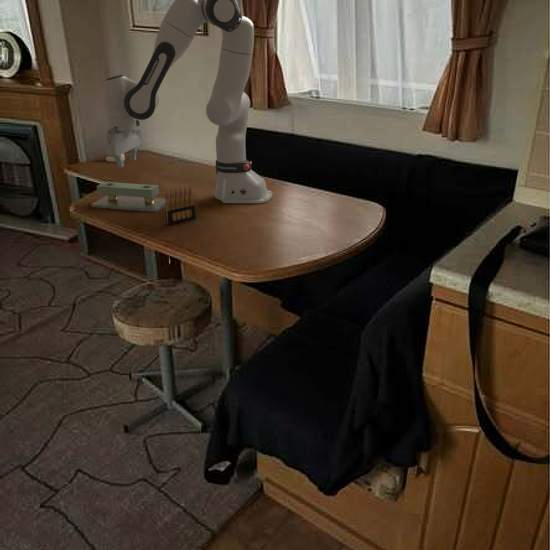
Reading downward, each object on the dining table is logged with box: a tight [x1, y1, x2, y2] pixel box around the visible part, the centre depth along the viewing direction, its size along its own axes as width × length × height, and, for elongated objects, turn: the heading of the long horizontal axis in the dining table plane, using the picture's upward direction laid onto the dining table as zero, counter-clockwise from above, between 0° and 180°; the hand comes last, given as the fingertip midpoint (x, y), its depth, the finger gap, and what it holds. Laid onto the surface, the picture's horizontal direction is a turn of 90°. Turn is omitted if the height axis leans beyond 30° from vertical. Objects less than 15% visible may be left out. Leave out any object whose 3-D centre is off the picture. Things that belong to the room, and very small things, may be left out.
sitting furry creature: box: [105, 153, 126, 163], centre depth 261 cm, size 10×9×12 cm
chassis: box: [91, 195, 170, 213], centre depth 201 cm, size 26×12×7 cm, turn 77°
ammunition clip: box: [164, 185, 197, 227], centre depth 183 cm, size 11×2×12 cm, turn 128°
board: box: [96, 181, 160, 198], centre depth 200 cm, size 22×6×3 cm, turn 76°
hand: (127, 163), depth 196 cm, fingers open, 8 cm apart
